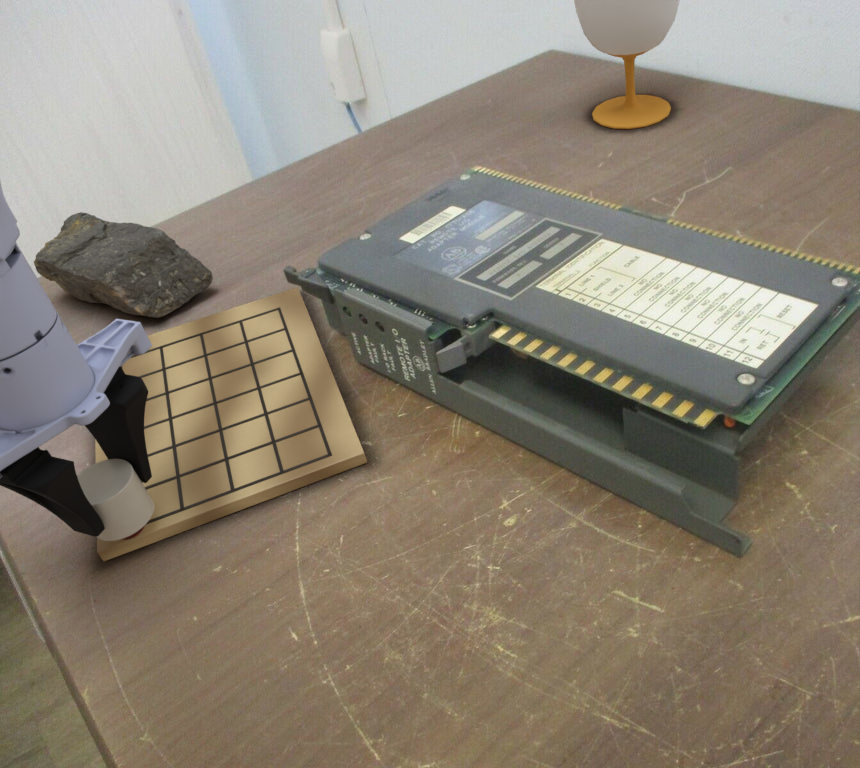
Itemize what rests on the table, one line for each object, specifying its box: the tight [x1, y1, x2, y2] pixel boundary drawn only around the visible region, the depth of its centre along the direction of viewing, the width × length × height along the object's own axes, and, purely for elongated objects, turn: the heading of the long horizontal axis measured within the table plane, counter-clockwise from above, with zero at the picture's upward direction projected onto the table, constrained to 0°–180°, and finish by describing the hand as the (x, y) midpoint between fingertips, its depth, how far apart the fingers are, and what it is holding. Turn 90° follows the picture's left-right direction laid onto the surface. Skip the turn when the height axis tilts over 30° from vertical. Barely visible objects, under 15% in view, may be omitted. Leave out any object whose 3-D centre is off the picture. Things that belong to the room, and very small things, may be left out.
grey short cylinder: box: [76, 459, 154, 541], centre depth 53 cm, size 4×4×3 cm
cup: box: [573, 0, 680, 130], centre depth 91 cm, size 12×12×17 cm
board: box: [94, 286, 368, 562], centre depth 65 cm, size 18×24×1 cm
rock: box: [33, 211, 214, 318], centre depth 78 cm, size 17×7×10 cm
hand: (113, 503), depth 53 cm, fingers closed on grey short cylinder, 4 cm apart
